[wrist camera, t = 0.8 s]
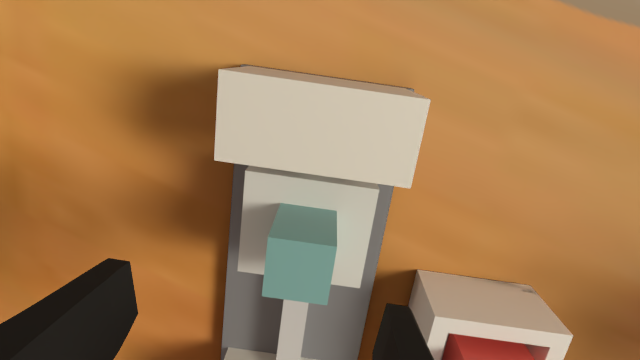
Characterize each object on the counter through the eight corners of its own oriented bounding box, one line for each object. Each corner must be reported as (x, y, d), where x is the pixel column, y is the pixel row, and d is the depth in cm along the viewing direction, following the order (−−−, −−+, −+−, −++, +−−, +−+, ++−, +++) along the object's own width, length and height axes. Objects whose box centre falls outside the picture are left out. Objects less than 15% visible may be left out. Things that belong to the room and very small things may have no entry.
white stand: (347, 394, 30) (350, 491, 23) (222, 377, 30) (190, 469, 23) (410, 88, 23) (442, 101, 16) (244, 64, 22) (206, 67, 16)
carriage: (356, 260, 24) (365, 338, 18) (249, 245, 24) (216, 317, 18) (373, 172, 22) (389, 221, 16) (257, 155, 22) (223, 198, 16)
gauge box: (497, 374, 29) (529, 437, 24) (394, 360, 29) (406, 420, 24) (530, 285, 26) (573, 335, 22) (417, 269, 26) (435, 316, 22)
